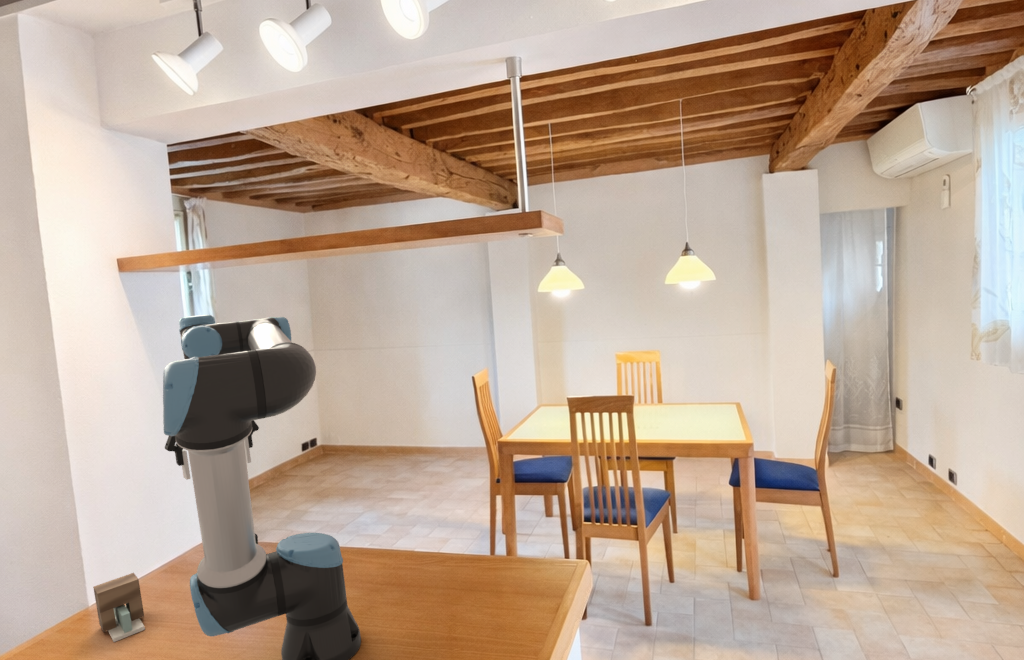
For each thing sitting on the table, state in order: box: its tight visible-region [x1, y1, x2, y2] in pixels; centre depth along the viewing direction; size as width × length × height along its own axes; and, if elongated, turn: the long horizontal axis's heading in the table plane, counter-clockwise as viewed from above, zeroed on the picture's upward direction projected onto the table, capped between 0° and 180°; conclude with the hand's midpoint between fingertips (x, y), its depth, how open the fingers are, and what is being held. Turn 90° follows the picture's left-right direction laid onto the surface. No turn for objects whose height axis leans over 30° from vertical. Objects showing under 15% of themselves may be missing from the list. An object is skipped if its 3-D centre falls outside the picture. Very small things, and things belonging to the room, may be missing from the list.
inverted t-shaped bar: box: [107, 604, 146, 643], centre depth 141 cm, size 15×6×5 cm, turn 43°
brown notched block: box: [93, 572, 145, 633], centre depth 140 cm, size 5×8×9 cm, turn 133°
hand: (218, 469), depth 145 cm, fingers open, 13 cm apart
